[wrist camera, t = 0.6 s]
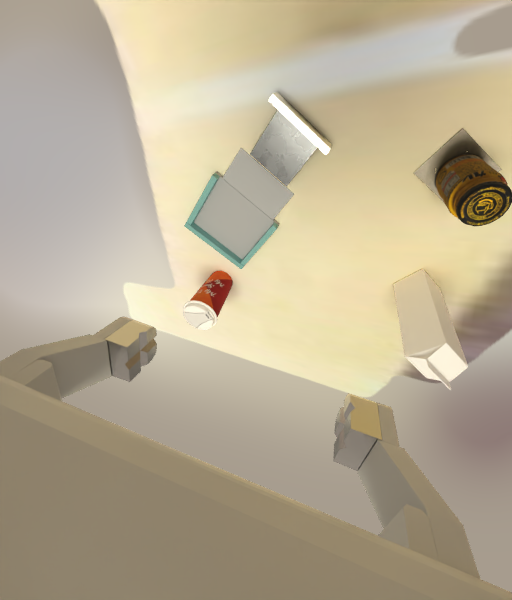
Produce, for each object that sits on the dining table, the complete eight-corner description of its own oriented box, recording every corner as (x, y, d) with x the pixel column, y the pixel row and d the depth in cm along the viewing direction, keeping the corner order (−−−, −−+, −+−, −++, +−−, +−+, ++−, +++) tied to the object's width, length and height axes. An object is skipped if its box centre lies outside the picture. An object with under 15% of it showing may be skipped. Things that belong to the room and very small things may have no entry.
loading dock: (235, 140, 47) (228, 144, 44) (301, 197, 50) (298, 204, 47) (191, 219, 59) (184, 226, 57) (246, 260, 62) (241, 269, 60)
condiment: (449, 207, 43) (472, 243, 35) (413, 172, 42) (427, 201, 33) (501, 169, 38) (542, 199, 30) (462, 127, 37) (494, 147, 28)
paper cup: (226, 263, 63) (201, 301, 53) (242, 288, 67) (221, 328, 57) (201, 271, 67) (173, 308, 57) (217, 295, 71) (193, 333, 61)
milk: (422, 267, 51) (453, 360, 35) (440, 288, 52) (477, 385, 36) (392, 283, 55) (406, 373, 39) (409, 302, 56) (430, 396, 40)
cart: (278, 91, 40) (272, 93, 37) (332, 143, 42) (330, 149, 40) (245, 145, 46) (238, 150, 43) (294, 188, 48) (291, 196, 45)
